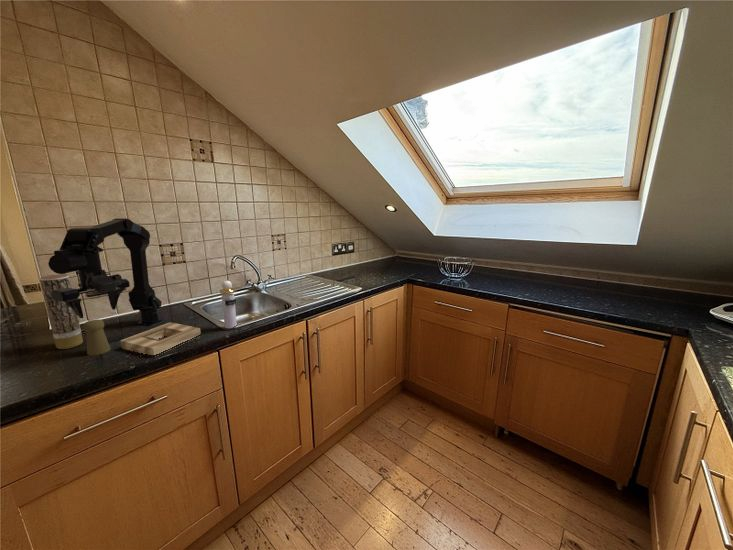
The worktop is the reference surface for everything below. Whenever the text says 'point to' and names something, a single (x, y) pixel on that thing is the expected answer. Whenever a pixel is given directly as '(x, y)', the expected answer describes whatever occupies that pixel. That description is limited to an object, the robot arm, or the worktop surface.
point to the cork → (96, 337)
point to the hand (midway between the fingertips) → (98, 313)
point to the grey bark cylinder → (61, 313)
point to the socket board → (151, 344)
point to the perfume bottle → (228, 305)
